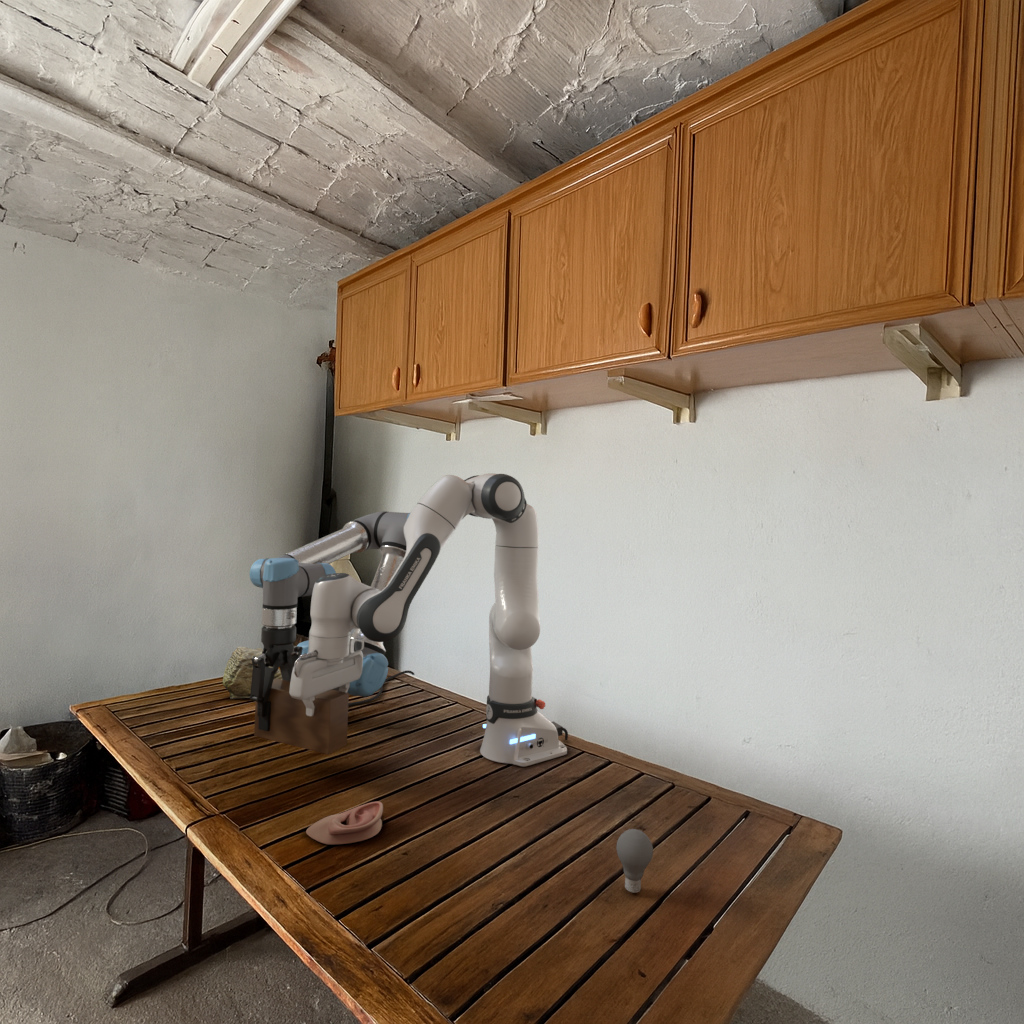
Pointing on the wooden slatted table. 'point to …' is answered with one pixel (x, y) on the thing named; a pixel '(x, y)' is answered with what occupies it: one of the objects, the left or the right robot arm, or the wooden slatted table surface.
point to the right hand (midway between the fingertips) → (326, 709)
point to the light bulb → (634, 857)
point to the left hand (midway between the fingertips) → (275, 724)
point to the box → (306, 719)
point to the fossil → (241, 672)
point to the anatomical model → (348, 825)
